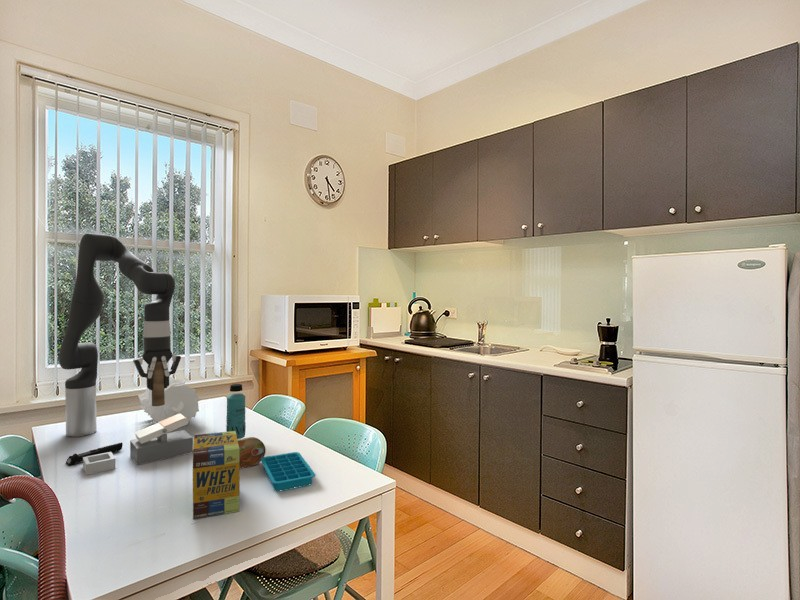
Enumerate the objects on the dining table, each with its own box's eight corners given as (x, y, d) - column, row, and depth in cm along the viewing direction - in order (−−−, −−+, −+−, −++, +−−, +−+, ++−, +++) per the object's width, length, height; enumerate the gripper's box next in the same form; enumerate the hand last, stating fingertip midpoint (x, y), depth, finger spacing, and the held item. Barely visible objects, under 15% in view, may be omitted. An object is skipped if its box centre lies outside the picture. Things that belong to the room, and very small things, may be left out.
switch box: (130, 455, 143) (130, 434, 143) (183, 444, 154) (183, 424, 154) (137, 465, 136) (136, 442, 136) (192, 452, 146) (192, 431, 146)
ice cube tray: (273, 495, 118) (273, 483, 118) (260, 467, 136) (260, 457, 136) (316, 486, 123) (316, 475, 123) (298, 460, 141) (298, 451, 141)
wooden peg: (150, 404, 143) (150, 361, 143) (163, 402, 146) (162, 359, 145) (153, 406, 141) (152, 362, 140) (165, 404, 143) (165, 361, 143)
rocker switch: (136, 437, 143) (134, 431, 143) (181, 418, 152) (179, 412, 152) (141, 444, 138) (139, 437, 137) (188, 423, 146) (186, 417, 146)
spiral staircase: (172, 423, 190) (191, 435, 171) (129, 412, 180) (143, 423, 161) (191, 382, 196) (211, 389, 177) (150, 369, 185) (166, 375, 166)
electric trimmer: (125, 452, 147) (125, 443, 147) (69, 467, 135) (69, 457, 135) (119, 450, 150) (119, 440, 150) (64, 464, 137) (64, 454, 137)
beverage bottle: (221, 442, 156) (221, 385, 155) (235, 436, 162) (235, 381, 162) (236, 445, 153) (236, 387, 153) (250, 439, 160) (249, 383, 159)
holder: (82, 467, 134) (82, 457, 134) (111, 461, 139) (111, 451, 139) (86, 474, 129) (86, 464, 128) (115, 468, 133) (115, 458, 133)
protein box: (192, 520, 104) (192, 454, 104) (194, 492, 118) (193, 434, 118) (240, 511, 108) (240, 448, 108) (236, 485, 122) (236, 429, 122)
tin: (212, 473, 130) (212, 444, 130) (211, 469, 133) (211, 441, 133) (265, 464, 137) (265, 437, 137) (263, 460, 140) (263, 434, 140)
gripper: (178, 332, 150) (178, 383, 151) (129, 335, 141) (130, 390, 142) (184, 334, 144) (185, 387, 145) (134, 337, 135) (134, 394, 136)
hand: (158, 388), depth 143 cm, fingers closed on wooden peg, 3 cm apart
